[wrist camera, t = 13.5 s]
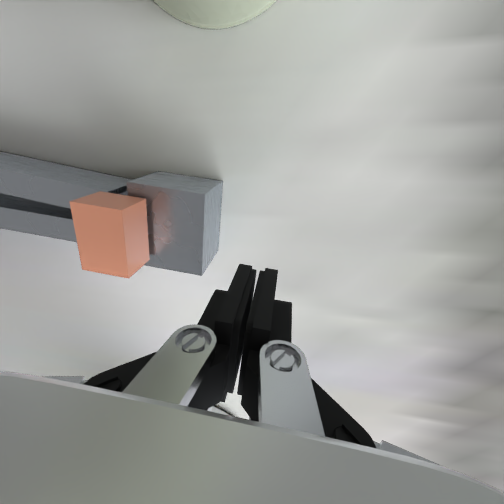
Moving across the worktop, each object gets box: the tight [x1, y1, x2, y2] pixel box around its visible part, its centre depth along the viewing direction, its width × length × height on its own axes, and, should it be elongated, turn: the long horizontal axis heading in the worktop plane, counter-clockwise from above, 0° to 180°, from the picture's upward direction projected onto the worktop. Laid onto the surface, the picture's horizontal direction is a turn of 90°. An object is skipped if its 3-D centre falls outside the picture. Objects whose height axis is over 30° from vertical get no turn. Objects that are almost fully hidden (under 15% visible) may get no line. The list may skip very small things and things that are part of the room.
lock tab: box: [69, 191, 150, 278], centre depth 13 cm, size 2×3×2 cm
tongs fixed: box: [0, 171, 223, 276], centre depth 16 cm, size 23×5×3 cm, turn 83°
